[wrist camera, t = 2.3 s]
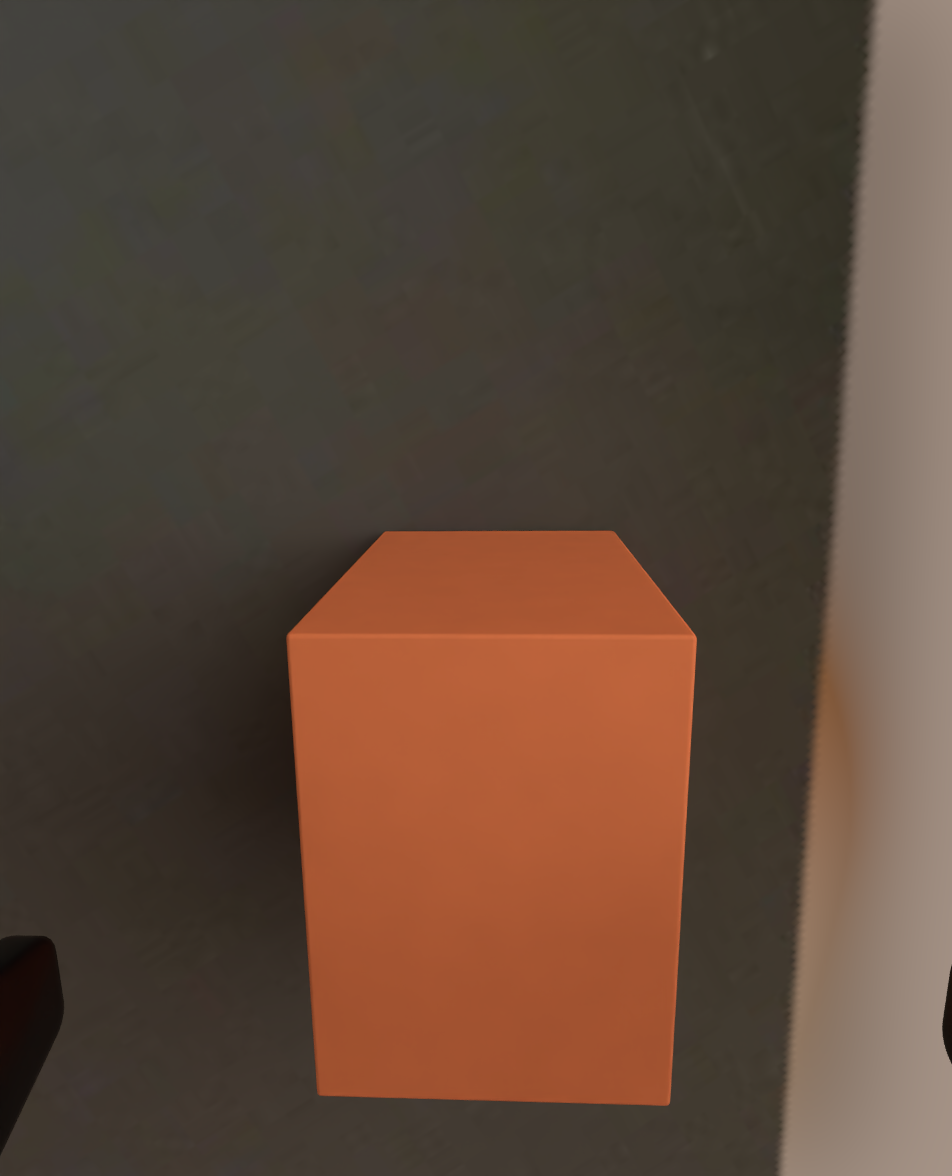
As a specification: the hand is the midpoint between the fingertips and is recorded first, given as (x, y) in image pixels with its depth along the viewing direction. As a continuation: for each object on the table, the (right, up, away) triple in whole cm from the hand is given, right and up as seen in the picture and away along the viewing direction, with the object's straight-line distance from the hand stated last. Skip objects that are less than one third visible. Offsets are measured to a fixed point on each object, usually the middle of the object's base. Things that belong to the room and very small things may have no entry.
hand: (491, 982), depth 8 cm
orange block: (0, +2, +8) cm, 9 cm away
